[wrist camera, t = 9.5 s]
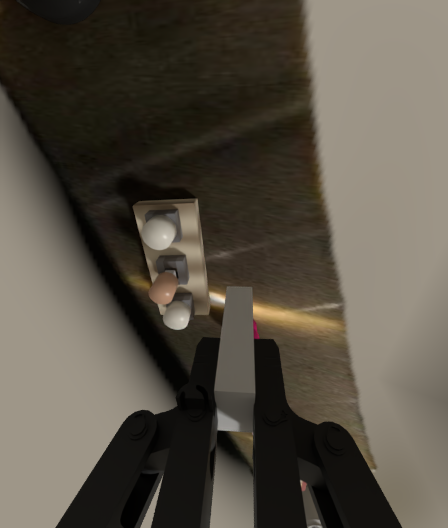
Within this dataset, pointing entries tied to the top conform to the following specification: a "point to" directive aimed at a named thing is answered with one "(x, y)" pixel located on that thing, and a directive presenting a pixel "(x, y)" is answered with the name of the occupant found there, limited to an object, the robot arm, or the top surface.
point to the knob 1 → (159, 232)
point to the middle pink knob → (164, 287)
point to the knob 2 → (177, 315)
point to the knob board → (179, 251)
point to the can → (310, 510)
